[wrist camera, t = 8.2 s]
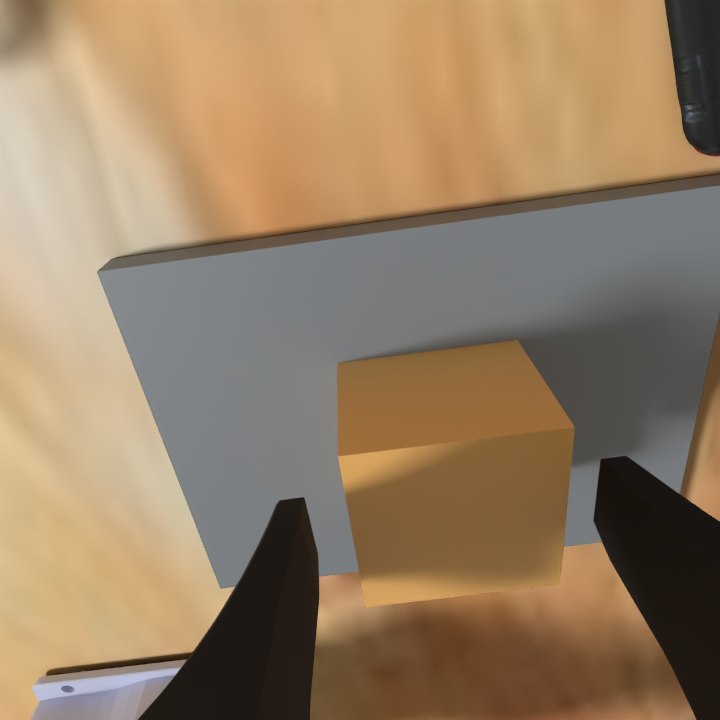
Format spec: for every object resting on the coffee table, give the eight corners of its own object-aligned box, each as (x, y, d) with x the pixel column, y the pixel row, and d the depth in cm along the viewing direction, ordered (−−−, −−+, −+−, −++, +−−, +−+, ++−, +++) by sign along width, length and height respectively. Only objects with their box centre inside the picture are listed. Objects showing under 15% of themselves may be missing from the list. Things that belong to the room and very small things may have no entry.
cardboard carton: (359, 496, 17) (365, 606, 14) (337, 363, 15) (338, 456, 11) (514, 477, 17) (559, 584, 14) (517, 339, 15) (574, 427, 11)
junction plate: (225, 565, 20) (205, 656, 17) (111, 258, 14) (50, 313, 11) (655, 512, 20) (714, 595, 16) (723, 173, 14) (834, 205, 11)
